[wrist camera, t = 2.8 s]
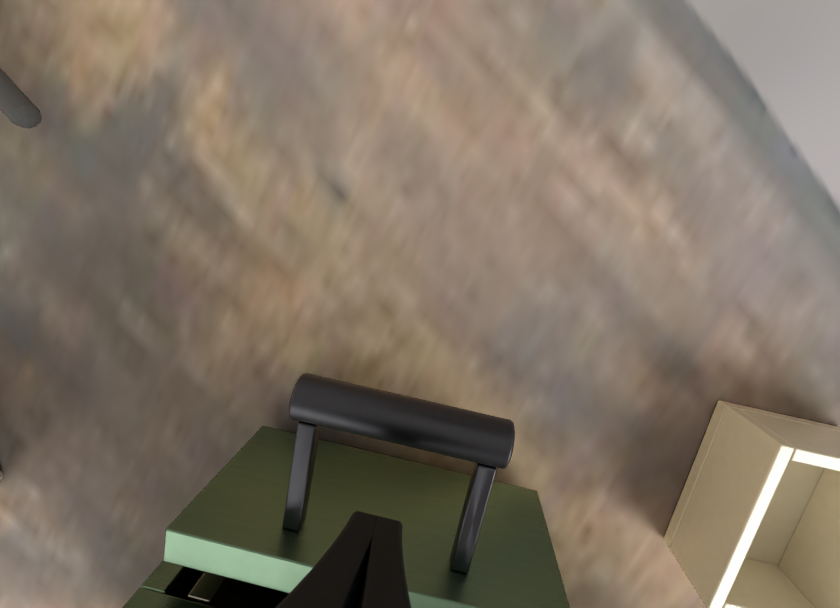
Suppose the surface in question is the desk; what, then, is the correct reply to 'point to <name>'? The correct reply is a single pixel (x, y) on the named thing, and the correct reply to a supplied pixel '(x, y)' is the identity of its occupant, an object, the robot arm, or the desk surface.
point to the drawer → (369, 506)
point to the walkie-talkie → (17, 104)
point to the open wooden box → (761, 512)
